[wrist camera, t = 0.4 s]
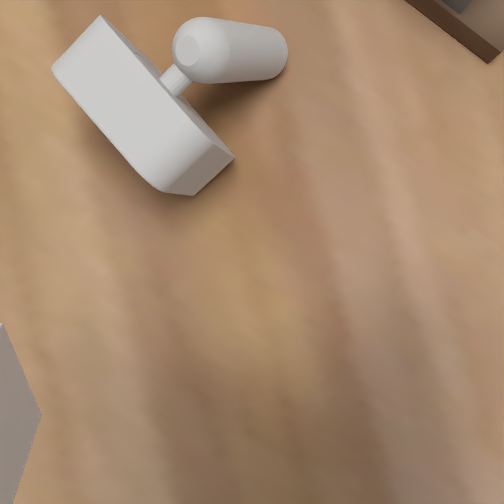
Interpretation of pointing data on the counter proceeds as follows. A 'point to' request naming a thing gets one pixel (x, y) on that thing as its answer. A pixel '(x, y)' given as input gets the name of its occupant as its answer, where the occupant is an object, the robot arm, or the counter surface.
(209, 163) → the white joystick
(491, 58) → the crossbar stand
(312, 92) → the counter surface
